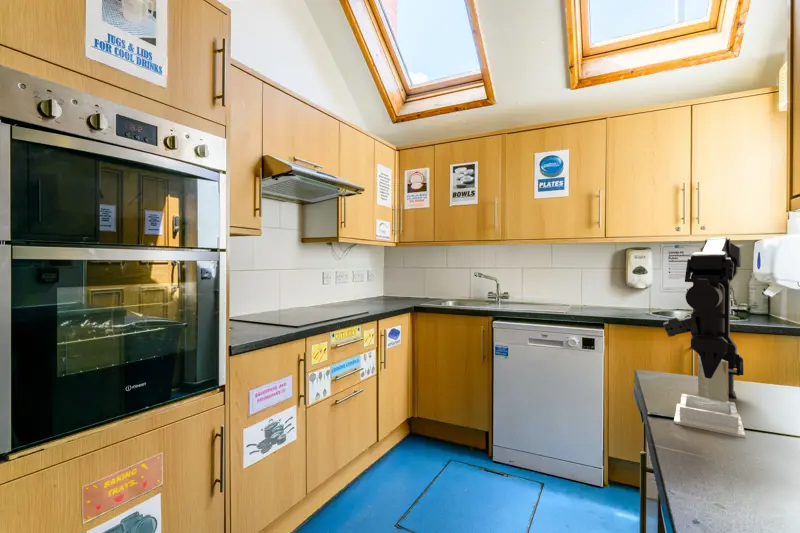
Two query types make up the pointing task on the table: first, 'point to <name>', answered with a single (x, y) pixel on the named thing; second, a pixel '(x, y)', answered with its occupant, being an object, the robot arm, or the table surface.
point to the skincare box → (714, 382)
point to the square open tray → (709, 415)
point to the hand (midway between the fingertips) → (707, 375)
